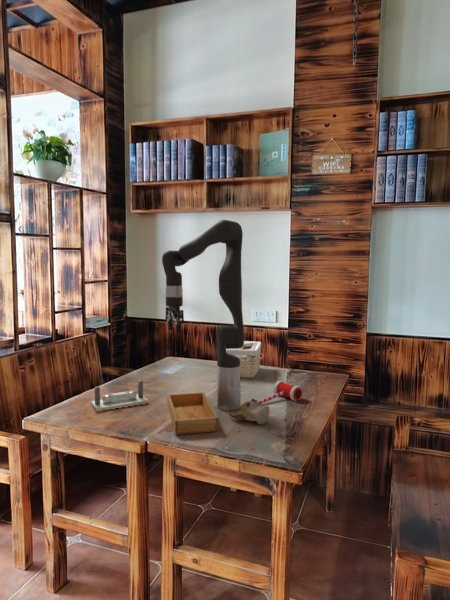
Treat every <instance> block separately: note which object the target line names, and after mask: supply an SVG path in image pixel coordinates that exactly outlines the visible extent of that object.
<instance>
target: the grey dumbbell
mask: <svg viewBox="0 0 450 600" xmlns="http://www.w3.org/2000/svg"><path fill="white" fill-rule="evenodd" d="M136 394H137V390H126V391H120V392H115V393H105V394H103V395H101V396H102V399H103V404H111V403H116V402H122V401H129V400H136Z"/></svg>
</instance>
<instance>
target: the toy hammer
mask: <svg viewBox="0 0 450 600" xmlns="http://www.w3.org/2000/svg"><path fill="white" fill-rule="evenodd" d="M273 386H274V387H273V393H274V394H273V395H271V396H269V397H266V398H264V399H261V400H259V401H258V400H257V401H258V402H259V404H260V405H262V404H264V403H267V402H268V401H271V400H273V399H275V398H278V397H281V396H283V397H286V398H289V399H290V400H291V401H294V402H297V401H300V400H301V399H302V397H303V393H304V392H303V391H304V390H303V388H302V387H301V386H298V385H290V384H288V383H286V382H285V381H283V380H277V381H276V382H275V384H274V385H273Z"/></svg>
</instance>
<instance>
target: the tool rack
mask: <svg viewBox="0 0 450 600" xmlns="http://www.w3.org/2000/svg"><path fill="white" fill-rule="evenodd" d="M143 383H144V380H142V379H141V380H138V381H137V393H136V400H129V401H122V402H116V403H111V404H103V399H101V387H100V386H95V387H94V400H91V401H90V405H91V404H92V405H91V407H92V408H93V407H94V408H95V409H96V410H95V409H94V408H93V409H94V410H95V412H96V411H101V412H103V411H102V410H107V411H109V410H108V409H113V410H116V409H115V408H119V409H123V408H122V407H125V408H129V407H128V406H131V407H134V406H133V405H137V406H139V405H138V404H143V405H145V404H144V403H148V404H149V399H147V398H146V397H145V396H144V384H143Z"/></svg>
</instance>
